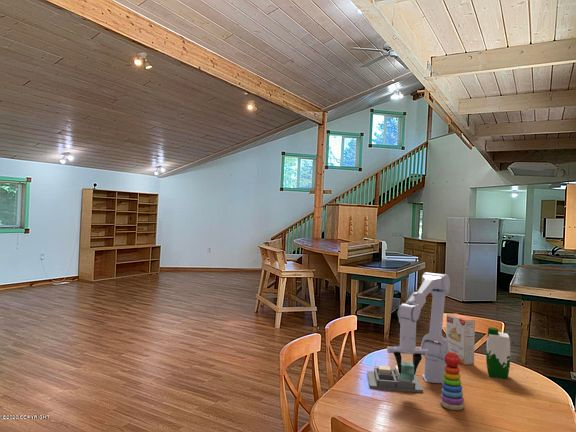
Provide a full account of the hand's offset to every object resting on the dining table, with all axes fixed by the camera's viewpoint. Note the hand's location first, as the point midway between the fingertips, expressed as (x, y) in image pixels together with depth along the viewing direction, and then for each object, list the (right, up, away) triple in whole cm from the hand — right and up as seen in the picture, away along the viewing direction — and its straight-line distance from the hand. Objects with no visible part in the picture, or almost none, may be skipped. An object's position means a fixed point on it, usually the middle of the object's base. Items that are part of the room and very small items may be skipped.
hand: (406, 373), depth 154 cm
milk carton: (+46, -11, +25) cm, 53 cm away
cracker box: (+38, -11, +44) cm, 59 cm away
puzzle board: (-2, -9, +13) cm, 15 cm away
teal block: (0, -2, 0) cm, 2 cm away
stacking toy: (+14, -9, -7) cm, 18 cm away
